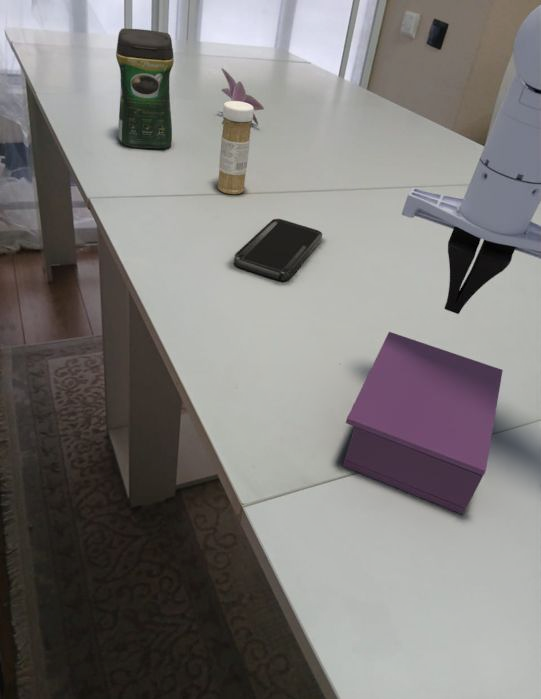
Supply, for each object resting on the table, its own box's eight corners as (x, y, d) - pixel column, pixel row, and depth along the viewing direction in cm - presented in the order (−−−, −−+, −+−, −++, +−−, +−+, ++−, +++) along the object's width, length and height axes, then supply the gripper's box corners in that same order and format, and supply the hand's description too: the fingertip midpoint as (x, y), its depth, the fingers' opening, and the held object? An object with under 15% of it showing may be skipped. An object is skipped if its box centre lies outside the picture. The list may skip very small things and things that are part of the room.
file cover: (345, 423, 49) (347, 418, 49) (387, 336, 60) (389, 331, 60) (483, 476, 46) (485, 470, 46) (500, 374, 58) (503, 369, 57)
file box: (342, 466, 52) (354, 426, 49) (383, 375, 63) (395, 338, 60) (462, 515, 49) (483, 476, 46) (483, 411, 60) (500, 374, 58)
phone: (231, 257, 77) (275, 217, 88) (230, 264, 77) (274, 224, 89) (288, 275, 75) (325, 232, 86) (287, 283, 75) (323, 239, 87)
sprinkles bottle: (237, 183, 100) (246, 99, 92) (249, 194, 97) (259, 109, 89) (212, 185, 98) (219, 99, 90) (223, 196, 95) (231, 109, 87)
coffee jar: (170, 137, 114) (174, 29, 102) (172, 152, 107) (176, 38, 96) (118, 133, 111) (116, 22, 100) (117, 148, 105) (114, 31, 94)
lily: (260, 140, 123) (280, 95, 121) (209, 112, 118) (229, 65, 116) (243, 139, 133) (261, 97, 131) (196, 113, 128) (214, 70, 126)
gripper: (606, 180, 49) (532, 313, 57) (436, 128, 52) (389, 262, 60) (610, 211, 43) (528, 352, 52) (420, 150, 46) (371, 294, 55)
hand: (452, 306), depth 56 cm, fingers closed
